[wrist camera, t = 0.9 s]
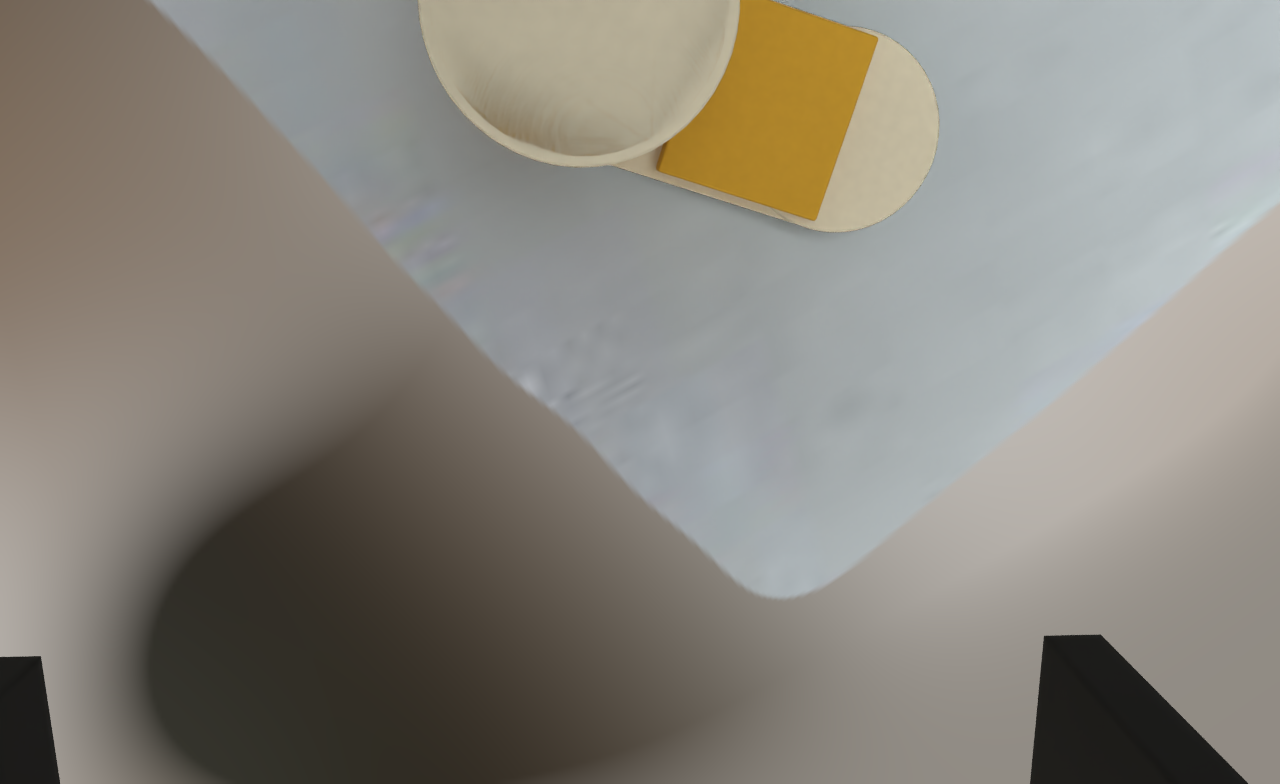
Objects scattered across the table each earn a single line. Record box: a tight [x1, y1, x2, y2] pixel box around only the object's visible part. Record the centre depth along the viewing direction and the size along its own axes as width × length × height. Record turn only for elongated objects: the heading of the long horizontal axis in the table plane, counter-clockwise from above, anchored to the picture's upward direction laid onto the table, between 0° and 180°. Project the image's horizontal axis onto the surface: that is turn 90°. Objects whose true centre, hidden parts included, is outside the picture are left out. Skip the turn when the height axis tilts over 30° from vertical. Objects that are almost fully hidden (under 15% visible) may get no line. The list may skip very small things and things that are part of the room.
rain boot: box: [418, 0, 939, 232], centre depth 30 cm, size 16×7×14 cm, turn 73°
